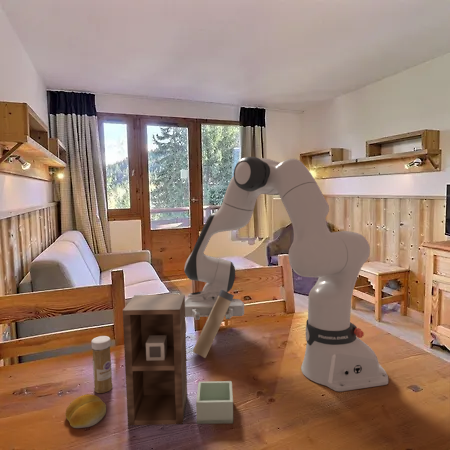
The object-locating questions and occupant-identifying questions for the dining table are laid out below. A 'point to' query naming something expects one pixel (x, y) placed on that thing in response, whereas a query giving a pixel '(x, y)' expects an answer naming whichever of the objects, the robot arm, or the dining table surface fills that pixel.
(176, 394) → the walnut shelf
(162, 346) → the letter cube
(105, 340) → the sprinkles bottle
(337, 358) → the robot arm
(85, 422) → the bread roll
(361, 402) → the dining table surface
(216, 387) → the green box
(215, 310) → the birch bar
